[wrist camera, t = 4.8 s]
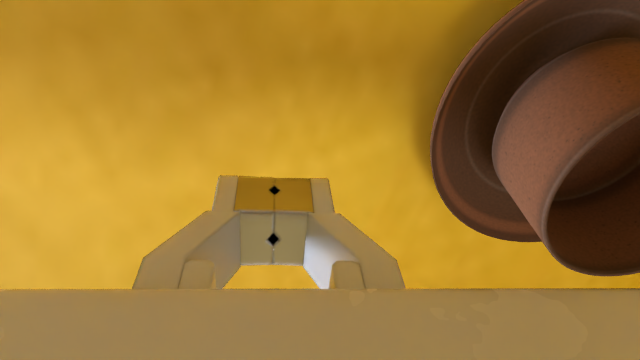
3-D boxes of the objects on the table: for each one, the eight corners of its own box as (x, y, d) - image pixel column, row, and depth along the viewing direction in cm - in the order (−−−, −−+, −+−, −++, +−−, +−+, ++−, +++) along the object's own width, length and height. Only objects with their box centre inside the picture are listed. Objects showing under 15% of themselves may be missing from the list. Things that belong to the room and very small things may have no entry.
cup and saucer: (779, -22, 16) (1011, 25, 11) (606, 223, 23) (700, 322, 18) (477, -78, 14) (589, -52, 9) (388, 207, 21) (423, 312, 16)
